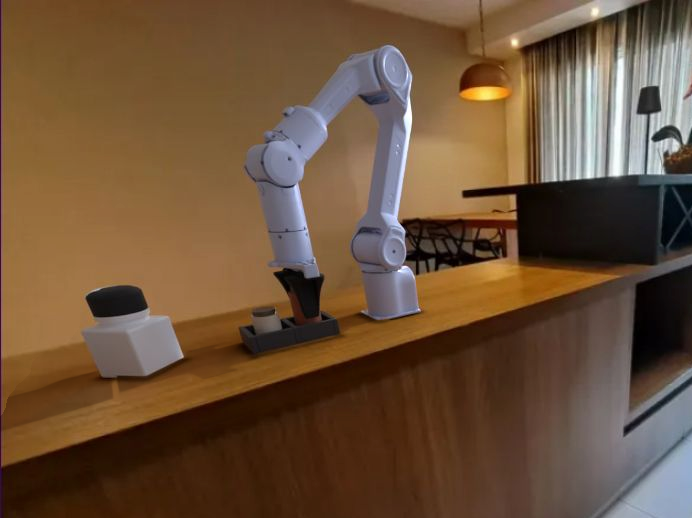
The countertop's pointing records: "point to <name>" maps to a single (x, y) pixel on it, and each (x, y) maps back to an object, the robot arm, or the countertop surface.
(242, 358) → the countertop surface
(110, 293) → the medicine bottle
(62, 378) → the countertop surface
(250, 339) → the holder
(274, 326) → the cream jar
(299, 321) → the spice bottle
